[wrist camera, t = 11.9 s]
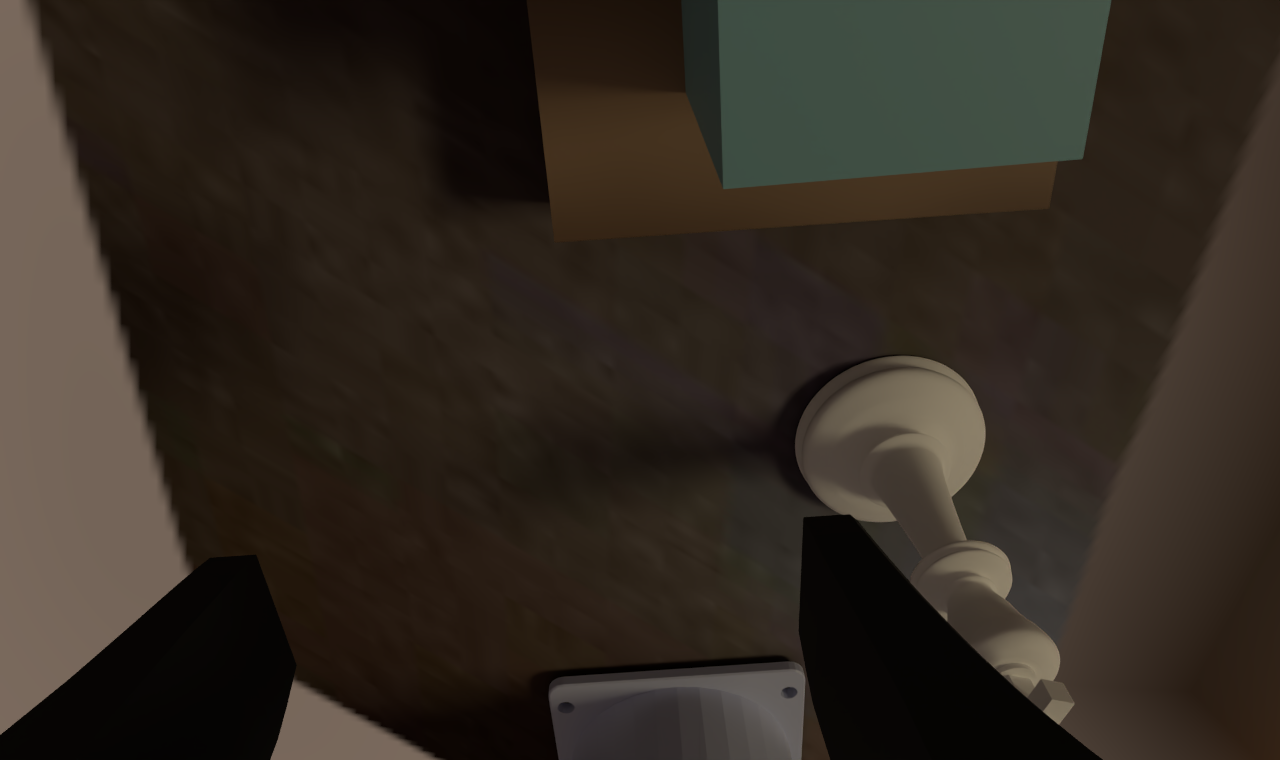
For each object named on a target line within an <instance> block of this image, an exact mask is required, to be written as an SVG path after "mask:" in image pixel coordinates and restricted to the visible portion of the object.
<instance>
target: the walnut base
mask: <svg viewBox="0 0 1280 760" xmlns="http://www.w3.org/2000/svg"><path fill="white" fill-rule="evenodd" d="M527 8H528V17H529V25H530V34H531V43H532V51H533V60H534V69H535V77H536V86H537V95H538V103H539V112H540V120H541V129H542V138H543V146H544V155H545V164H546V172H547V181H548V190H549V198H550V207H551V216H552V224H553V233H554V242H569V241H584V240H598V239H613V238H627V237H642V236H656V235H671V234H685V233H700V232H715V231H729V230H744V229H758V228H773V227H787V226H802V225H816V224H831V223H845V222H860V221H874V220H889V219H903V218H918V217H932V216H947V215H962V214H976V213H991V212H1005V211H1020V210H1034V209H1049V206H1050V200H1051V195H1052V189H1053V184H1054V178H1055V173H1056V167H1057V162H1058V161H1052V162H1041V163H1029V164H1017V165H1005V166H993V167H981V168H969V169H957V170H946V171H934V172H922V173H910V174H898V175H886V176H874V177H862V178H851V179H839V180H827V181H815V182H803V183H791V184H779V185H767V186H756V187H744V188H732V189H723V187H722V185H721V182H720V180H719V177H718V175H717V172H716V169H715V167H714V164H713V162H712V159H711V156H710V154H709V151H708V149H707V146H706V144H705V141H704V138H703V136H702V133H701V131H700V128H699V126H698V123H697V120H696V118H695V115H694V113H693V110H692V108H691V105H690V102H689V100H688V97H687V95H686V89H685V68H684V47H683V26H682V5H681V0H527Z"/></svg>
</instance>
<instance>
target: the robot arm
mask: <svg viewBox="0 0 1280 760" xmlns="http://www.w3.org/2000/svg"><path fill="white" fill-rule="evenodd" d="M799 635H800V640H801V646H802V651H803V656H804V661H805V667H806V672H807V677H808V682H809V687H810V692H811V696H812V701H813V705H814V709H815V712H816V715H817V718H818V722H819V725H820V728H821V731H822V734H823V738H824V741H825V744H826V747H827V750H828V754H829V757H830V760H1103V759H1101V758H1100V757H1099V756H1097V755H1096V754H1095V753H1093V752H1092V751H1090V750H1089V749H1088V748H1087V747H1086V746H1084V745H1083V744H1082V743H1081V742H1079V741H1078V740H1077V739H1075V738H1074V737H1073V736H1072V735H1071V734H1069V733H1068V732H1067V731H1066V730H1065V729H1063V728H1062V727H1061V726H1060V725H1058V724H1057V723H1056V722H1055V721H1054V720H1052V719H1051V718H1050V717H1049V716H1048V715H1046V714H1045V713H1044V712H1043V711H1042V710H1041V709H1039V708H1038V707H1037V706H1036V705H1035V704H1034V703H1032V702H1031V701H1030V700H1029V699H1028V698H1027V697H1026V696H1024V695H1023V694H1022V693H1021V692H1020V691H1019V690H1018V689H1017V688H1015V687H1014V686H1013V685H1012V684H1011V683H1010V682H1009V681H1008V680H1007V679H1006V678H1005V677H1004V676H1002V675H1001V674H1000V673H999V672H998V671H997V670H996V669H995V668H994V667H993V666H992V665H991V664H990V663H989V662H987V661H986V660H985V659H984V658H983V657H982V656H981V655H980V654H979V653H978V652H977V651H976V650H975V649H974V648H973V647H972V646H971V645H970V644H969V643H968V642H967V641H966V640H965V639H964V638H963V637H962V636H961V635H960V634H959V633H958V632H957V631H956V630H955V629H954V628H953V627H952V626H951V625H950V624H949V623H948V622H947V621H946V620H945V619H944V618H943V617H942V616H941V615H940V614H939V613H938V611H937V610H936V609H935V608H934V607H933V606H932V605H931V604H930V603H929V602H928V601H927V600H926V599H925V598H924V597H923V596H922V595H921V594H920V592H919V591H918V590H917V589H916V588H915V587H914V586H913V585H912V584H911V583H910V581H909V580H908V579H907V578H906V577H905V576H904V575H903V574H902V572H901V571H900V570H899V569H898V568H897V567H896V566H895V565H894V563H893V562H892V561H891V560H890V559H889V558H888V556H887V555H886V554H885V553H884V552H883V551H882V549H881V548H880V547H879V546H878V545H877V544H876V542H875V541H874V540H873V539H872V538H871V536H870V535H869V534H868V533H867V532H866V530H865V529H864V528H863V527H862V526H861V524H860V523H859V522H858V521H857V520H856V519H855V518H854V517H853V516H852V515H850V514H847V515H832V516H817V517H804V519H803V543H802V566H801V590H800V613H799ZM295 669H296V662H295V660H294V657H293V654H292V651H291V649H290V646H289V643H288V641H287V638H286V635H285V632H284V630H283V627H282V624H281V621H280V619H279V616H278V613H277V611H276V608H275V605H274V602H273V600H272V597H271V594H270V591H269V589H268V586H267V583H266V581H265V578H264V575H263V572H262V570H261V567H260V564H259V561H258V559H257V556H256V555H246V556H231V557H216V558H209V559H208V560H207V561H206V562H204V563H203V564H202V565H201V566H199V567H198V568H197V569H196V570H194V571H193V572H192V573H191V574H190V575H188V576H187V577H186V578H185V579H184V580H182V581H181V582H180V583H179V584H178V585H177V586H176V587H174V588H173V589H172V590H171V591H170V592H169V593H168V594H166V595H165V596H164V597H163V598H162V599H161V600H159V601H158V602H157V603H156V604H155V605H154V606H153V607H152V608H150V609H149V610H148V611H147V612H146V613H145V614H144V615H142V616H141V617H140V618H139V619H138V620H137V621H136V622H135V623H133V624H132V625H131V626H130V627H129V628H128V629H127V630H125V631H124V632H123V633H122V634H121V635H120V636H119V637H117V638H116V639H115V640H114V641H113V642H111V643H110V644H109V645H108V646H107V647H106V648H105V649H103V650H102V651H101V652H100V653H99V654H98V655H97V656H95V657H94V658H93V659H92V660H91V661H90V662H89V663H87V664H86V665H85V666H84V667H83V668H81V669H80V670H79V671H78V672H77V673H76V674H75V675H73V676H72V677H71V678H70V679H69V680H67V682H65V683H64V684H63V685H61V686H60V687H59V688H58V689H56V690H55V691H54V692H53V693H52V694H50V695H49V696H48V697H47V698H45V699H44V700H43V701H42V702H40V703H39V704H38V705H37V706H36V707H34V708H33V709H32V710H31V711H29V712H28V713H27V714H26V715H24V716H23V717H22V718H21V719H20V720H18V721H17V722H16V723H14V725H12V726H11V727H10V728H8V729H7V730H6V731H5V732H3V733H2V734H1V735H0V760H270V759H271V756H272V753H273V751H274V748H275V745H276V743H277V740H278V736H279V733H280V729H281V725H282V722H283V718H284V714H285V711H286V707H287V703H288V698H289V695H290V690H291V686H292V682H293V678H294V673H295ZM787 687H790V688H787ZM804 695H805V676H804V672H803V668H802V667H801V666H800V665H799V664H798V663H795V662H788V661H786V662H772V663H757V664H742V665H727V666H713V667H698V668H683V669H669V670H654V671H639V672H624V673H610V674H595V675H580V676H565V677H559V678H556V679H555V680H553V681H552V682H551V683H550V685H549V695H548V697H549V703H550V709H551V716H552V722H553V728H554V734H555V740H556V746H557V752H558V758H559V760H801V755H802V735H803V715H804ZM563 702H569V703H563Z"/></svg>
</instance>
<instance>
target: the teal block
mask: <svg viewBox="0 0 1280 760" xmlns="http://www.w3.org/2000/svg"><path fill="white" fill-rule="evenodd" d="M1110 4H1111V0H681V5H682V26H683V47H684V68H685V89H686V95H687V97H688V100H689V102H690V105H691V108H692V110H693V113H694V115H695V118H696V120H697V123H698V126H699V128H700V131H701V133H702V136H703V138H704V141H705V144H706V146H707V149H708V151H709V154H710V156H711V159H712V162H713V164H714V167H715V169H716V172H717V175H718V177H719V180H720V182H721V185H722V187H723V189H732V188H744V187H756V186H767V185H779V184H791V183H803V182H815V181H827V180H839V179H851V178H862V177H874V176H886V175H898V174H910V173H922V172H934V171H946V170H957V169H969V168H981V167H993V166H1005V165H1017V164H1029V163H1041V162H1052V161H1064V160H1076V159H1083V154H1084V149H1085V143H1086V138H1087V132H1088V127H1089V121H1090V115H1091V110H1092V104H1093V99H1094V93H1095V88H1096V82H1097V76H1098V71H1099V65H1100V60H1101V54H1102V49H1103V43H1104V38H1105V32H1106V26H1107V21H1108V15H1109V10H1110Z"/></svg>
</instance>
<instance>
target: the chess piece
mask: <svg viewBox="0 0 1280 760" xmlns="http://www.w3.org/2000/svg"><path fill="white" fill-rule="evenodd" d="M984 444H985V423H984V418H983V415H982V412H981V409H980V407H979V405H978V403H977V400H976V397H975V395H974V393H973V391H972V390H971V388H970V387H969V385H968V384H967V383H966V381H965V380H964V379H963V378H962V377H961V376H960V375H958V374H957V373H956V372H955V371H953V370H952V369H950V368H949V367H947V366H945V365H943V364H941V363H939V362H936V361H933V360H930V359H926V358H922V357H916V356H889V357H882V358H878V359H873V360H870V361H867V362H864V363H861V364H859V365H856V366H854V367H852V368H850V369H848V370H846V371H844V372H842V373H841V374H839V375H838V376H836V377H835V378H833V379H832V380H831V381H829V382H828V383H827V384H826V385H825V386H824V387H823V388H821V390H820V391H819V392H818V393H817V394H816V395H815V396H814V397H813V399H812V400H811V401H810V403H809V404H808V406H807V407H806V409H805V411H804V413H803V415H802V417H801V419H800V422H799V425H798V428H797V432H796V438H795V454H796V459H797V463H798V466H799V469H800V471H801V473H802V475H803V477H804V478H805V480H806V481H807V483H808V485H809V486H810V488H811V490H812V491H813V492H814V494H815V495H816V496H817V497H818V498H819V499H820V500H821V501H822V502H823V503H824V504H825V505H826V506H828V507H829V508H831V509H832V510H834V511H836V512H837V513H840V514H842V515H847V514H850V515H852V516H853V517H854V518H855V519H857V520H862V521H868V522H891V521H898V523H899V524H900V526H901V527H902V529H903V530H904V531H905V533H906V534H907V536H908V537H909V539H910V540H911V542H912V543H913V545H914V546H915V548H916V549H917V551H918V553H919V554H920V556H921V558H922V560H921V561H920V562H919V563H918V564H917V566H916V567H915V569H914V570H913V572H912V575H911V578H910V583H911V584H912V585H913V586H914V587H915V588H916V589H917V590H918V591H919V592H920V594H921V595H922V596H923V597H924V598H925V599H926V600H927V601H928V602H929V603H930V604H931V605H932V606H933V607H934V608H935V609H936V610H937V611H938V613H939V614H940V615H941V616H942V617H943V618H944V619H945V620H946V621H947V622H948V623H949V624H950V625H951V626H952V627H953V628H954V629H955V630H956V631H957V632H958V633H959V634H960V635H961V636H962V637H963V638H964V639H965V640H966V641H967V642H968V643H969V644H970V645H971V646H972V647H973V648H974V649H975V650H976V651H977V652H978V653H979V654H980V655H981V656H982V657H983V658H984V659H985V660H986V661H987V662H989V663H990V664H991V665H992V666H993V667H994V668H995V669H996V670H997V671H998V672H999V673H1000V674H1001V675H1002V676H1004V677H1005V678H1006V679H1007V680H1008V681H1009V682H1010V683H1011V684H1012V685H1013V686H1014V687H1015V688H1017V689H1018V690H1019V691H1020V692H1021V693H1022V694H1023V695H1024V696H1026V697H1027V698H1028V699H1029V700H1030V701H1031V702H1032V703H1034V704H1035V705H1036V706H1037V707H1038V708H1039V709H1041V710H1042V711H1043V712H1044V713H1045V714H1046V715H1048V716H1049V717H1050V718H1051V719H1052V720H1054V721H1055V722H1056V723H1057V724H1058V725H1059V724H1060V722H1061V721H1062V720H1063V718H1064V717H1065V716H1066V714H1067V713H1068V712H1069V711H1070V709H1071V708H1072V707H1073V705H1074V704H1075V703H1074V701H1073V699H1072V698H1071V696H1070V694H1069V693H1068V691H1067V689H1066V687H1065V685H1064V684H1063V683H1060V682H1055V681H1053V680H1054V678H1055V677H1056V675H1057V673H1058V669H1059V666H1060V655H1059V651H1058V649H1057V647H1056V645H1055V643H1054V642H1053V641H1052V639H1051V638H1050V637H1049V636H1048V635H1047V634H1046V633H1045V632H1044V631H1043V630H1041V629H1040V628H1039V627H1038V626H1037V625H1036V624H1034V623H1033V622H1031V621H1030V620H1028V619H1026V618H1025V617H1024V616H1023V615H1021V614H1020V613H1019V612H1018V611H1017V610H1016V609H1015V608H1014V607H1013V606H1012V605H1011V604H1010V603H1009V602H1008V601H1006V600H1005V598H1006V596H1007V595H1008V593H1009V591H1010V588H1011V585H1012V573H1011V566H1010V562H1009V560H1008V558H1007V556H1006V555H1005V554H1004V553H1003V552H1002V551H1001V550H1000V549H999V548H997V547H996V546H994V545H992V544H989V543H987V542H983V541H976V540H967V539H966V537H965V534H964V532H963V529H962V527H961V524H960V521H959V518H958V515H957V513H956V510H955V507H954V504H953V501H952V498H951V497H952V496H953V495H954V494H955V493H956V492H958V491H959V490H960V489H961V488H962V487H963V485H964V484H965V483H966V482H967V481H968V479H969V478H970V477H971V475H972V474H973V472H974V471H975V469H976V467H977V465H978V463H979V461H980V458H981V456H982V453H983V449H984Z"/></svg>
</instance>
